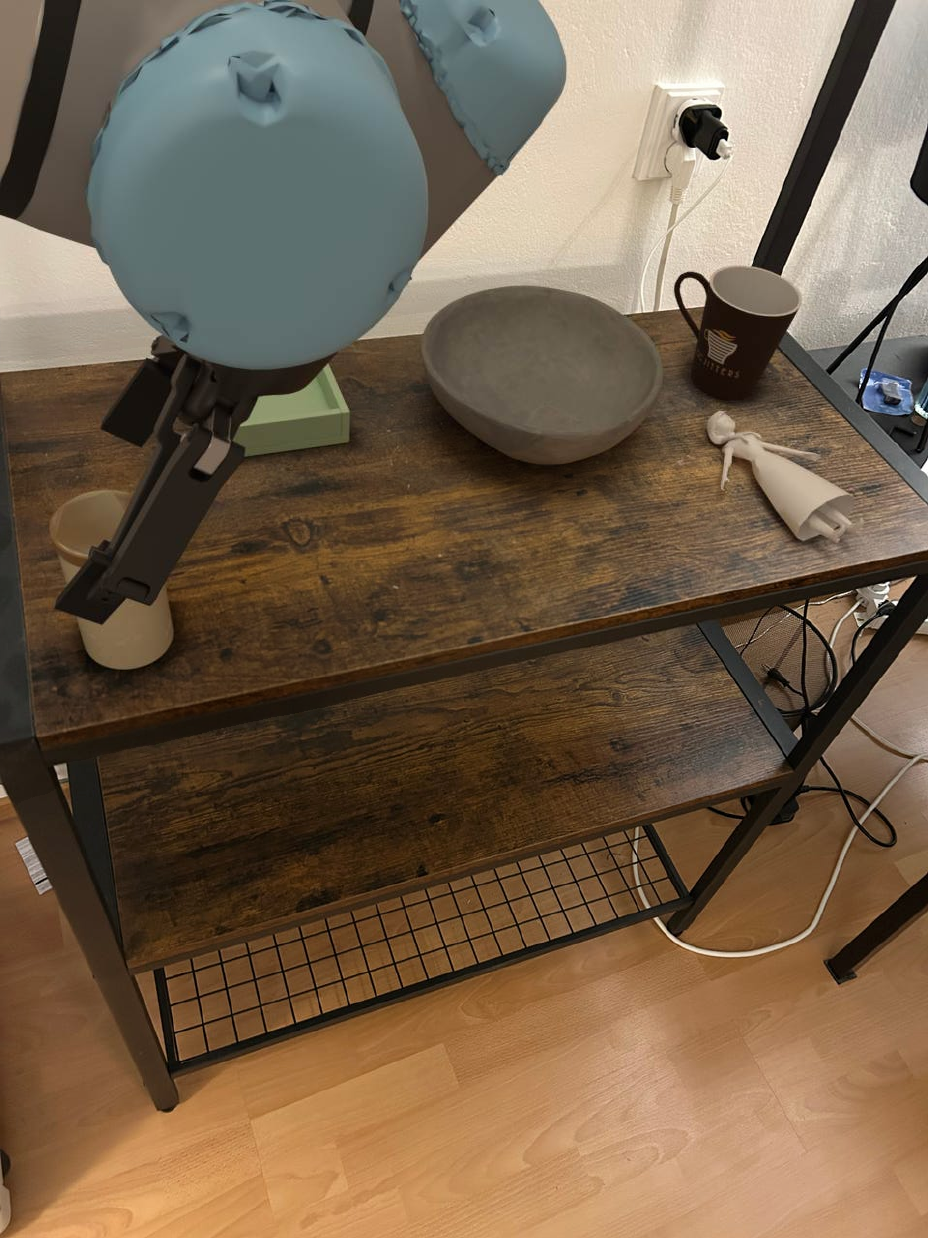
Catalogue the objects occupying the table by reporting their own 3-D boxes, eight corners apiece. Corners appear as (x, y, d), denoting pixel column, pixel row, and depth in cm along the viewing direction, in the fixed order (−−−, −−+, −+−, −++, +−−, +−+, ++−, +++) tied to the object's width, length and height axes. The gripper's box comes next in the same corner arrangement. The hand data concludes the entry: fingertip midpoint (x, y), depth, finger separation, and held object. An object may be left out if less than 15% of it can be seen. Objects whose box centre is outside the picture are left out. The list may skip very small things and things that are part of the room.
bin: (228, 459, 81) (225, 427, 79) (206, 385, 87) (202, 354, 85) (349, 442, 84) (350, 411, 82) (319, 372, 90) (319, 341, 88)
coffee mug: (781, 400, 96) (820, 310, 88) (707, 412, 93) (741, 321, 85) (720, 334, 102) (751, 245, 95) (650, 344, 100) (676, 253, 92)
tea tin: (87, 679, 65) (54, 566, 57) (78, 611, 69) (44, 496, 61) (182, 660, 67) (162, 548, 59) (167, 595, 71) (147, 482, 63)
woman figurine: (806, 533, 76) (668, 411, 87) (788, 574, 79) (657, 452, 90) (909, 496, 81) (766, 385, 91) (888, 537, 84) (752, 425, 94)
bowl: (688, 471, 87) (715, 398, 81) (483, 528, 79) (497, 452, 73) (567, 341, 98) (583, 268, 92) (378, 380, 91) (382, 303, 85)
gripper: (343, 525, 39) (127, 721, 53) (364, 172, 53) (188, 398, 67) (170, 445, 35) (-16, 679, 49) (242, 85, 49) (81, 344, 63)
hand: (101, 517), depth 58 cm, fingers open, 13 cm apart
